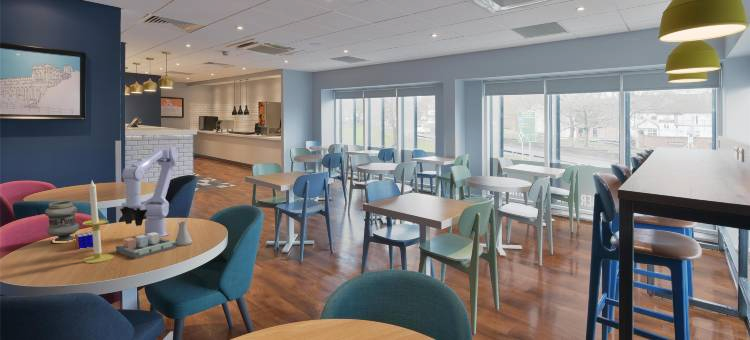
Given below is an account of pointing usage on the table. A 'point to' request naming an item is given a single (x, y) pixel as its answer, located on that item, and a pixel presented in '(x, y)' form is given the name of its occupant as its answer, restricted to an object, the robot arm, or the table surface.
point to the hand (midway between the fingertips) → (133, 224)
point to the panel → (147, 248)
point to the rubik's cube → (84, 240)
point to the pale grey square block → (153, 237)
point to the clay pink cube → (129, 243)
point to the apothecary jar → (62, 220)
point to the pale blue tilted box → (142, 240)
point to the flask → (183, 235)
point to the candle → (96, 229)
